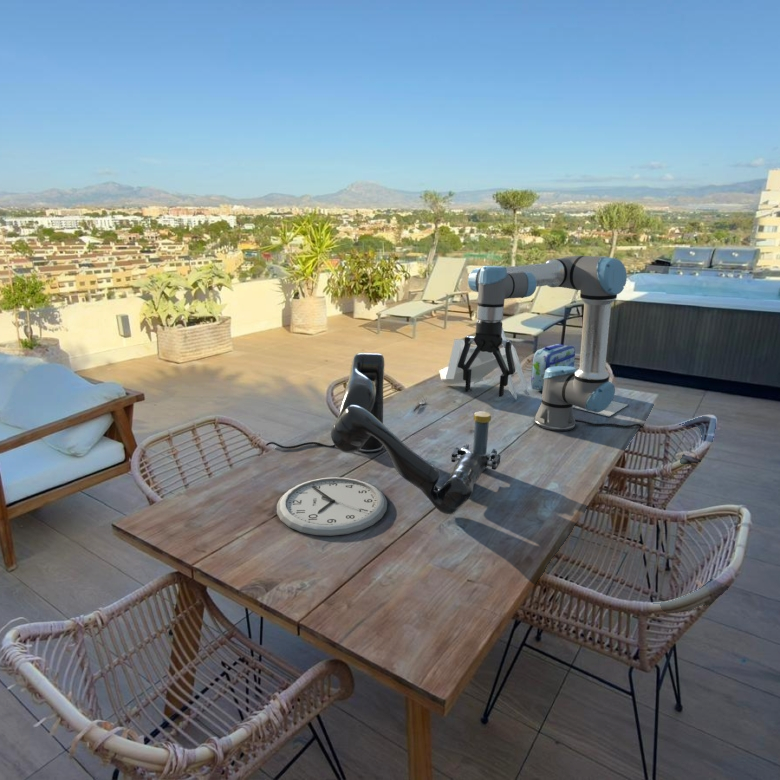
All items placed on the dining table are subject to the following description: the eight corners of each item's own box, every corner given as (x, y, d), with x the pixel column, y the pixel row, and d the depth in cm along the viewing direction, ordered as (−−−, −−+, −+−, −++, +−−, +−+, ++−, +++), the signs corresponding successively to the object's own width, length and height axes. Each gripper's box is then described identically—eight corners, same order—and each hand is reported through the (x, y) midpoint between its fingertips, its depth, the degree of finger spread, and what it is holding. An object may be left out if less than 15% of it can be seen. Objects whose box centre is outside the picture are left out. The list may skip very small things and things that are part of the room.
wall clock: (392, 527, 129) (268, 531, 127) (391, 533, 130) (269, 537, 127) (383, 473, 158) (282, 475, 155) (383, 478, 158) (282, 480, 156)
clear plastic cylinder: (482, 472, 164) (486, 418, 158) (469, 469, 166) (473, 416, 160) (487, 467, 167) (491, 414, 162) (474, 464, 169) (478, 412, 164)
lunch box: (547, 396, 238) (552, 351, 232) (526, 391, 246) (531, 347, 239) (574, 385, 256) (579, 343, 250) (554, 380, 263) (559, 340, 257)
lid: (487, 424, 158) (487, 418, 158) (471, 420, 161) (471, 414, 160) (492, 419, 163) (493, 413, 162) (477, 415, 165) (477, 410, 164)
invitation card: (608, 416, 214) (573, 407, 224) (608, 416, 214) (573, 408, 224) (628, 404, 229) (594, 396, 238) (628, 405, 229) (594, 397, 238)
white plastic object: (461, 429, 252) (437, 405, 227) (444, 352, 274) (420, 323, 250) (535, 404, 240) (518, 377, 215) (510, 326, 262) (492, 293, 237)
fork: (410, 411, 216) (410, 407, 215) (421, 400, 230) (421, 396, 229) (416, 412, 215) (416, 408, 214) (427, 401, 229) (427, 396, 228)
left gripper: (443, 477, 155) (458, 456, 169) (491, 486, 150) (502, 464, 164) (445, 453, 153) (459, 434, 167) (493, 462, 148) (504, 442, 162)
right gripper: (530, 322, 151) (523, 395, 158) (457, 315, 160) (453, 384, 167) (525, 326, 145) (518, 402, 151) (448, 318, 154) (445, 391, 161)
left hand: (480, 449), depth 166 cm, fingers open, 8 cm apart
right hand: (484, 393), depth 159 cm, fingers open, 10 cm apart
